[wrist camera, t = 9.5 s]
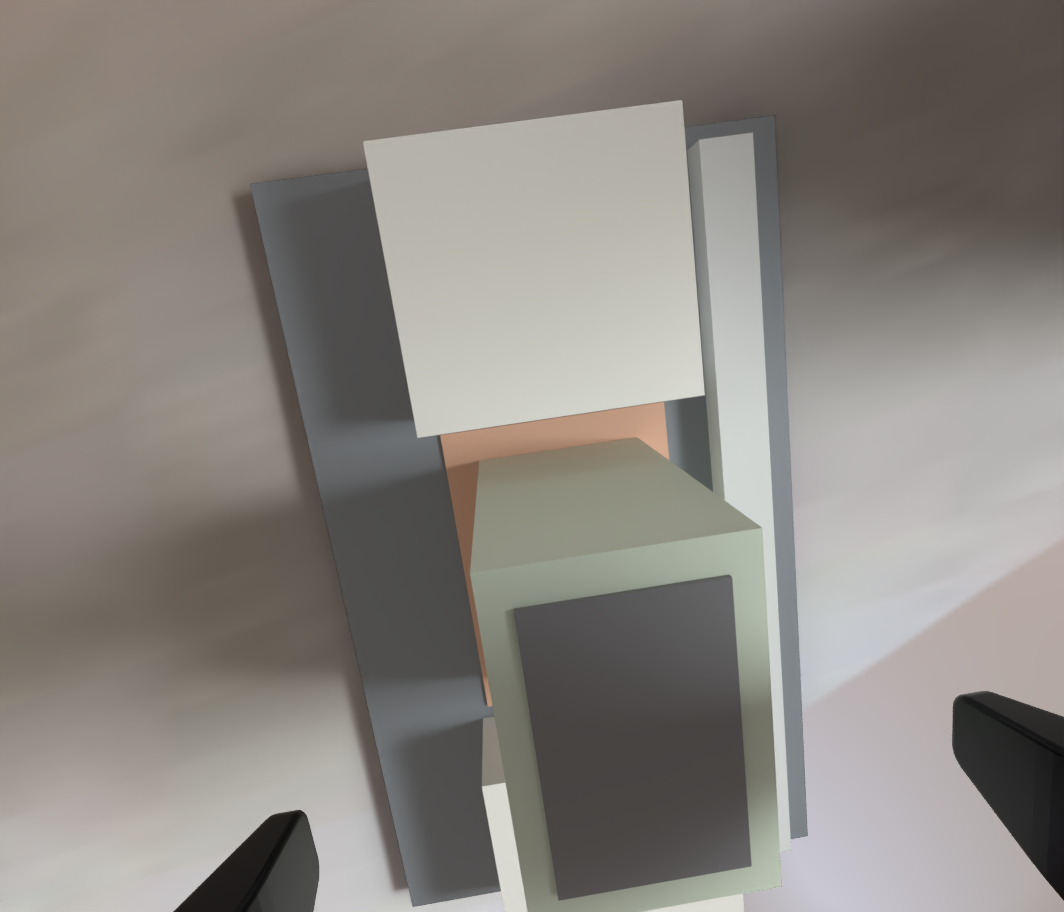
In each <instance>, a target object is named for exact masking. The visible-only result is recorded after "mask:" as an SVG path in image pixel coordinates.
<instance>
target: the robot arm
mask: <svg viewBox="0 0 1064 912" xmlns="http://www.w3.org/2000/svg"><path fill="white" fill-rule="evenodd" d="M952 746H953V751H954V754H955V757H956V759H957V761H958V763H959V765H960V766H961V768H962V769H963V771H964V772H965V773H966V775H967V776H968V777H969V778H970V780H971V781H972V783H973V784H974V785H975V786H976V788H977V789H978V791H979V792H980V793H981V795H982V796H983V797H984V799H985V800H986V801H987V803H988V804H989V805H990V807H991V808H992V809H993V810H994V812H995V813H996V814H997V816H998V817H999V819H1000V820H1001V821H1002V823H1003V824H1004V825H1005V827H1006V828H1007V829H1008V831H1009V832H1010V833H1011V835H1012V836H1013V837H1014V839H1015V840H1016V841H1017V842H1018V844H1019V845H1020V847H1021V848H1022V849H1023V851H1024V852H1025V853H1026V855H1027V856H1028V857H1029V858H1030V860H1031V861H1032V862H1033V864H1034V865H1035V866H1036V867H1037V869H1038V870H1039V871H1040V873H1041V874H1042V875H1043V876H1044V878H1045V879H1046V880H1047V881H1048V882H1049V884H1050V885H1051V886H1052V887H1053V888H1054V890H1055V891H1056V892H1057V893H1058V894H1059V895H1060V897H1061V898H1062V899H1063V900H1064V717H1063V716H1059V715H1057V714H1054V713H1051V712H1048V711H1045V710H1042V709H1039V708H1036V707H1033V706H1030V705H1028V704H1024V703H1021V702H1019V701H1016V700H1013V699H1010V698H1007V697H1004V696H1001V695H998V694H996V693H993V692H989V691H979V692H974V693H968V694H962V695H959V696H958V697H956V698H955V700H954V702H953V731H952ZM318 881H319V860H318V856H317V852H316V848H315V844H314V841H313V837H312V833H311V829H310V825H309V822H308V818H307V816H306V814H305V813H304V812H303V811H301V810H295V811H289V812H283V813H277V814H274V815H272V816H270V817H269V818H268V819H266V820H265V821H264V822H263V823H262V824H261V825H260V826H259V827H258V828H257V829H256V830H255V831H254V832H253V833H252V834H251V835H250V836H249V837H248V838H247V839H246V840H245V841H244V842H243V843H242V844H241V845H240V846H239V847H238V848H237V849H236V850H235V851H234V852H233V853H232V854H231V855H230V856H229V857H228V858H227V859H226V860H225V861H224V862H223V863H222V864H221V865H220V866H219V867H218V868H217V869H216V870H215V871H214V872H213V873H212V874H211V875H210V876H209V877H208V878H207V879H206V880H205V881H204V882H203V883H202V884H201V885H200V886H199V887H198V888H197V889H196V890H195V891H194V892H193V893H192V894H191V895H190V896H189V897H188V898H187V899H186V900H185V901H184V902H183V903H182V904H181V905H180V906H179V907H178V908H177V909H176V910H175V911H174V912H313V911H314V905H315V899H316V893H317V887H318Z"/></svg>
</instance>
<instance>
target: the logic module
mask: <svg viewBox="0 0 1064 912" xmlns="http://www.w3.org/2000/svg"><path fill="white" fill-rule="evenodd" d="M470 576H471V582H472V588H473V594H474V600H475V606H476V612H477V618H478V624H479V629H480V635H481V641H482V647H483V653H484V659H485V665H486V671H487V676H488V682H489V688H490V694H491V700H492V706H493V712H494V718H495V724H496V729H497V735H498V741H499V747H500V753H501V759H502V765H503V771H504V776H505V782H506V788H507V794H508V800H509V806H510V812H511V818H512V824H513V829H514V835H515V841H516V847H517V853H518V859H519V865H520V871H521V876H522V882H523V888H524V894H525V900H526V906H527V912H643V911H648V910H654V909H659V908H665V907H671V906H676V905H682V904H687V903H693V902H698V901H704V900H709V899H715V898H721V897H726V896H732V895H737V894H743V893H748V892H754V891H760V890H765V889H771V888H776V887H782V878H781V860H780V841H779V823H778V805H777V786H776V768H775V749H774V731H773V713H772V694H771V676H770V658H769V639H768V621H767V602H766V584H765V566H764V547H763V529H762V527H761V526H759V525H758V524H756V523H755V522H754V521H752V520H751V519H750V518H748V517H747V516H745V515H744V514H743V513H741V512H740V511H739V510H737V509H736V508H734V507H733V506H732V505H730V504H729V503H727V502H726V501H725V500H723V499H722V498H721V497H719V496H718V495H716V494H715V493H714V492H712V491H711V490H710V489H708V488H707V487H705V486H704V485H703V484H701V483H700V482H698V481H697V480H696V479H694V478H693V477H692V476H690V475H689V474H687V473H686V472H685V471H683V470H682V469H681V468H679V467H678V466H676V465H675V464H674V463H672V462H671V461H669V460H668V459H667V458H665V457H664V456H663V455H661V454H660V453H658V452H657V451H656V450H654V449H653V448H651V447H650V446H649V445H647V444H646V443H645V442H643V441H642V440H640V439H639V438H638V437H635V438H628V439H622V440H615V441H608V442H601V443H595V444H588V445H581V446H574V447H568V448H561V449H554V450H547V451H541V452H534V453H527V454H520V455H513V456H507V457H500V458H493V459H486V460H480V461H479V470H478V482H477V494H476V506H475V518H474V530H473V543H472V555H471V567H470Z"/></svg>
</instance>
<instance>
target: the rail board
mask: <svg viewBox="0 0 1064 912" xmlns="http://www.w3.org/2000/svg"><path fill="white" fill-rule="evenodd" d="M363 145H364V150H365V156H366V161H367V167H368V169H361V170H353V171H346V172H338V173H330V174H323V175H315V176H307V177H300V178H292V179H285V180H277V181H269V182H262V183H254V184H250V187H251V192H252V196H253V200H254V205H255V209H256V214H257V218H258V223H259V227H260V231H261V236H262V240H263V245H264V249H265V254H266V258H267V263H268V267H269V271H270V276H271V280H272V285H273V289H274V294H275V298H276V302H277V307H278V311H279V316H280V320H281V325H282V329H283V334H284V338H285V342H286V347H287V351H288V356H289V360H290V365H291V369H292V373H293V378H294V382H295V387H296V391H297V396H298V400H299V404H300V409H301V413H302V418H303V422H304V427H305V431H306V436H307V440H308V444H309V449H310V453H311V458H312V462H313V467H314V471H315V475H316V480H317V484H318V489H319V493H320V498H321V502H322V506H323V511H324V515H325V520H326V524H327V529H328V533H329V538H330V542H331V546H332V551H333V555H334V560H335V564H336V569H337V573H338V577H339V582H340V586H341V591H342V595H343V600H344V604H345V608H346V613H347V617H348V622H349V626H350V631H351V635H352V640H353V644H354V648H355V653H356V657H357V662H358V666H359V671H360V675H361V679H362V684H363V688H364V693H365V697H366V702H367V706H368V710H369V715H370V719H371V724H372V728H373V733H374V737H375V742H376V746H377V750H378V755H379V759H380V764H381V768H382V773H383V777H384V781H385V786H386V790H387V795H388V799H389V804H390V808H391V812H392V817H393V821H394V826H395V830H396V835H397V839H398V844H399V848H400V852H401V857H402V861H403V866H404V870H405V875H406V879H407V883H408V888H409V892H410V897H411V901H412V906H413V907H415V906H421V905H426V904H432V903H437V902H443V901H449V900H454V899H460V898H465V897H471V896H476V895H482V894H488V893H493V892H499V891H501V894H502V899H503V904H504V910H505V912H527V906H526V900H525V894H524V888H523V882H522V876H521V871H520V865H519V859H518V853H517V847H516V841H515V835H514V829H513V824H512V818H511V812H510V806H509V800H508V794H507V788H506V782H505V776H504V771H503V765H502V759H501V753H500V747H499V741H498V735H497V729H496V724H495V718H494V712H493V706H492V700H491V694H490V688H489V682H488V676H487V671H486V665H485V659H484V653H483V647H482V641H481V635H480V629H479V624H478V618H477V612H476V606H475V600H474V594H473V588H472V582H471V576H470V567H471V555H472V543H473V530H474V518H475V506H476V494H477V482H478V470H479V461H480V460H486V459H493V458H500V457H507V456H513V455H520V454H527V453H534V452H541V451H547V450H554V449H561V448H568V447H574V446H581V445H588V444H595V443H601V442H608V441H615V440H622V439H628V438H635V437H638V438H639V439H640V440H642V441H643V442H645V443H646V444H647V445H649V446H650V447H651V448H653V449H654V450H656V451H657V452H658V453H660V454H661V455H663V456H664V457H665V458H667V459H668V460H669V461H671V462H672V463H674V464H675V465H676V466H678V467H679V468H681V469H682V470H683V471H685V472H686V473H687V474H689V475H690V476H692V477H693V478H694V479H696V480H697V481H698V482H700V483H701V484H703V485H704V486H705V487H707V488H708V489H710V490H711V491H712V492H714V493H715V494H716V495H718V496H719V497H721V498H722V499H723V500H725V501H726V502H727V503H729V504H730V505H732V506H733V507H734V508H736V509H737V510H739V511H740V512H741V513H743V514H744V515H745V516H747V517H748V518H750V519H751V520H752V521H754V522H755V523H756V524H758V525H759V526H761V527H762V529H763V547H764V566H765V584H766V602H767V621H768V639H769V658H770V676H771V694H772V713H773V731H774V749H775V768H776V786H777V805H778V823H779V841H780V852H784V851H789V850H791V839H794V838H800V837H805V836H808V832H807V810H806V791H805V790H806V789H805V768H804V745H803V723H802V701H801V679H800V657H799V635H798V614H797V592H796V570H795V548H794V526H793V504H792V483H791V461H790V439H789V417H788V395H787V373H786V351H785V330H784V308H783V286H782V264H781V242H780V220H779V198H778V177H777V155H776V133H775V115H773V116H766V117H758V118H750V119H743V120H735V121H727V122H720V123H712V124H704V125H697V126H689V127H684V116H683V103H682V100H678V101H670V102H663V103H655V104H647V105H640V106H632V107H624V108H616V109H609V110H601V111H593V112H585V113H578V114H570V115H562V116H554V117H547V118H539V119H531V120H523V121H516V122H508V123H500V124H492V125H485V126H477V127H469V128H461V129H454V130H446V131H438V132H430V133H423V134H415V135H407V136H400V137H392V138H384V139H376V140H369V141H363ZM643 912H744V905H743V894H737V895H732V896H726V897H721V898H715V899H709V900H704V901H698V902H693V903H687V904H682V905H676V906H671V907H665V908H659V909H654V910H648V911H643Z"/></svg>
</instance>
